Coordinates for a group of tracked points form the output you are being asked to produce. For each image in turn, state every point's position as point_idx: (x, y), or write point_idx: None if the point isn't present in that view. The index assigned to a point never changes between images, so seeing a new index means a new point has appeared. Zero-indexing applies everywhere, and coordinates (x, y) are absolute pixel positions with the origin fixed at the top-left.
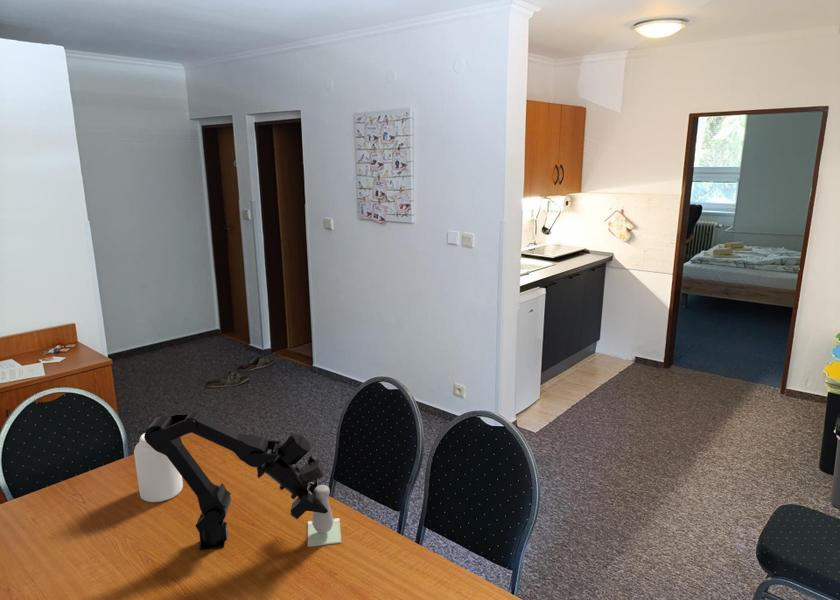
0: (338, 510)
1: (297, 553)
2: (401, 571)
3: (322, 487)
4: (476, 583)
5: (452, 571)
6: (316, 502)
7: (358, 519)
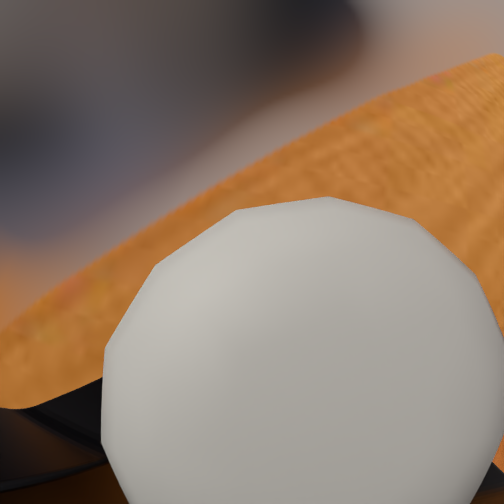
0: (105, 269)
1: None
2: (498, 140)
3: (334, 393)
4: (493, 54)
5: (476, 63)
6: (493, 473)
7: (207, 192)
